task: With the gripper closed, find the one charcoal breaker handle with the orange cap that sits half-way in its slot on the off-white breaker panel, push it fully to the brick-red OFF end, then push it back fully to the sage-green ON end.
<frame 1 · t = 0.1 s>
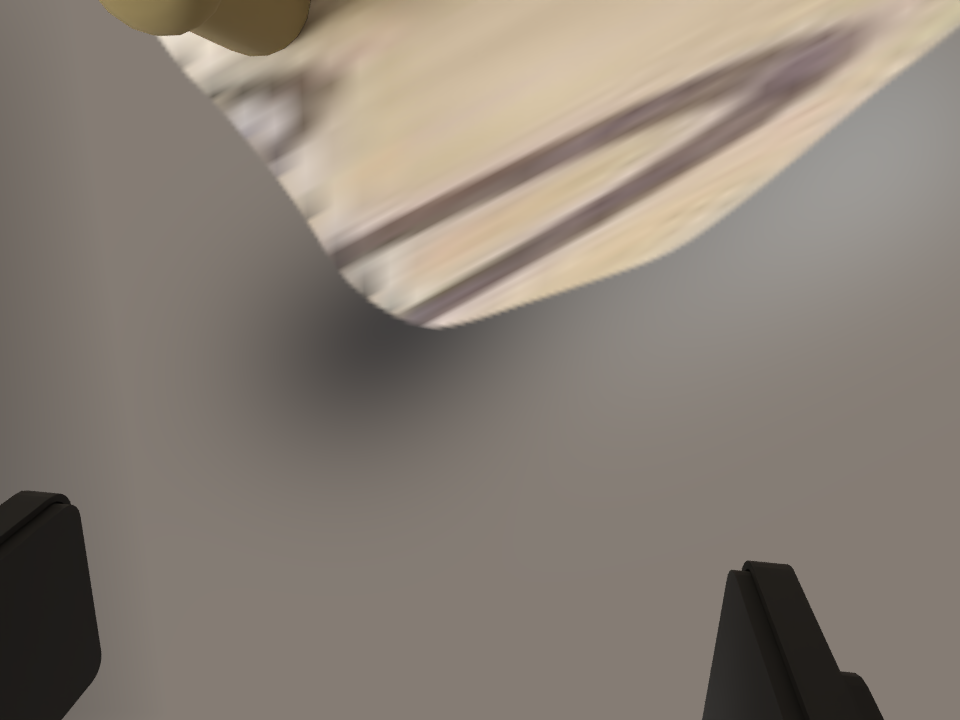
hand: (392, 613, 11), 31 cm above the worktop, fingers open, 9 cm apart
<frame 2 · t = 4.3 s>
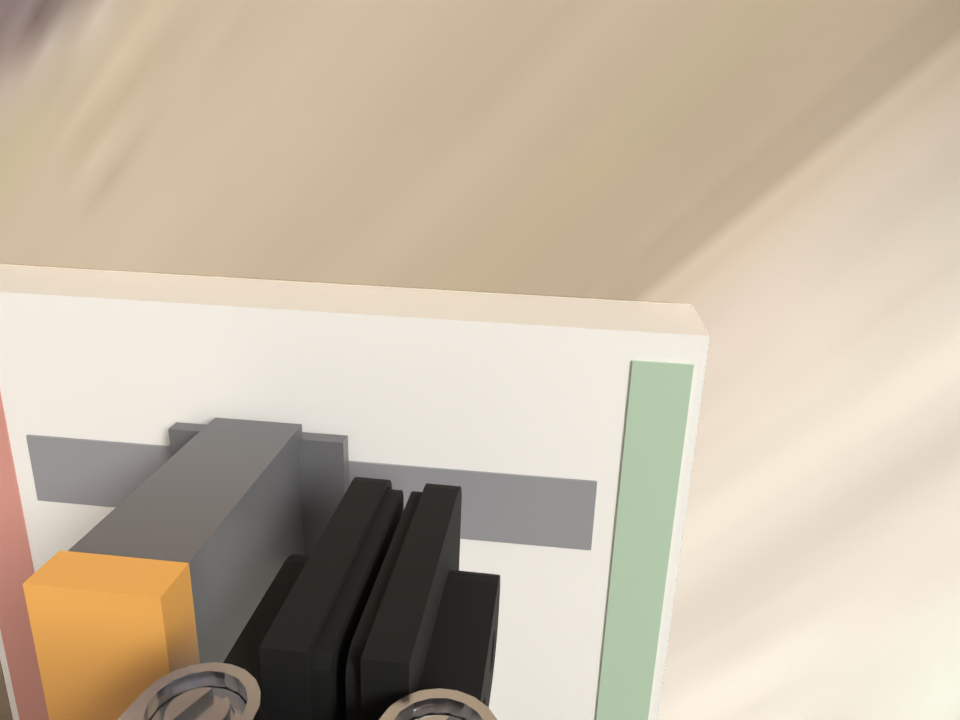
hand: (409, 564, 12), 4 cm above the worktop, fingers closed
tripped breaker: (202, 574, 12), point 5 cm above the worktop, slide at 4.7 cm, touching gripper
breaker panel: (343, 707, 19), on the worktop
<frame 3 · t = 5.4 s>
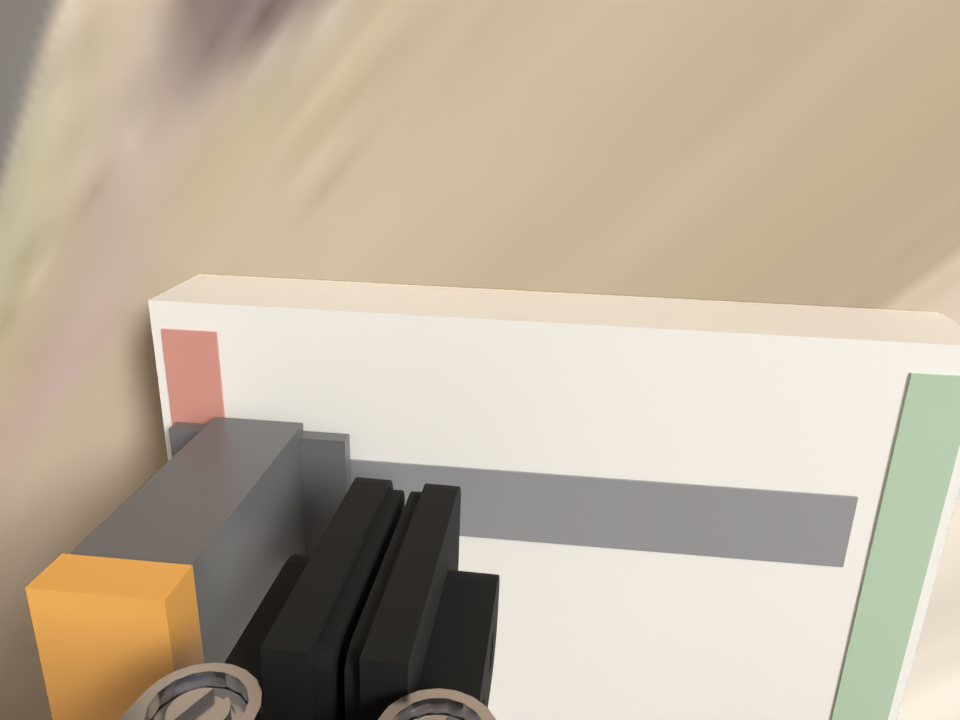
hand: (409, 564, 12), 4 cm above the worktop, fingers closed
tripped breaker: (205, 574, 12), point 5 cm above the worktop, slide at 9.0 cm, touching gripper
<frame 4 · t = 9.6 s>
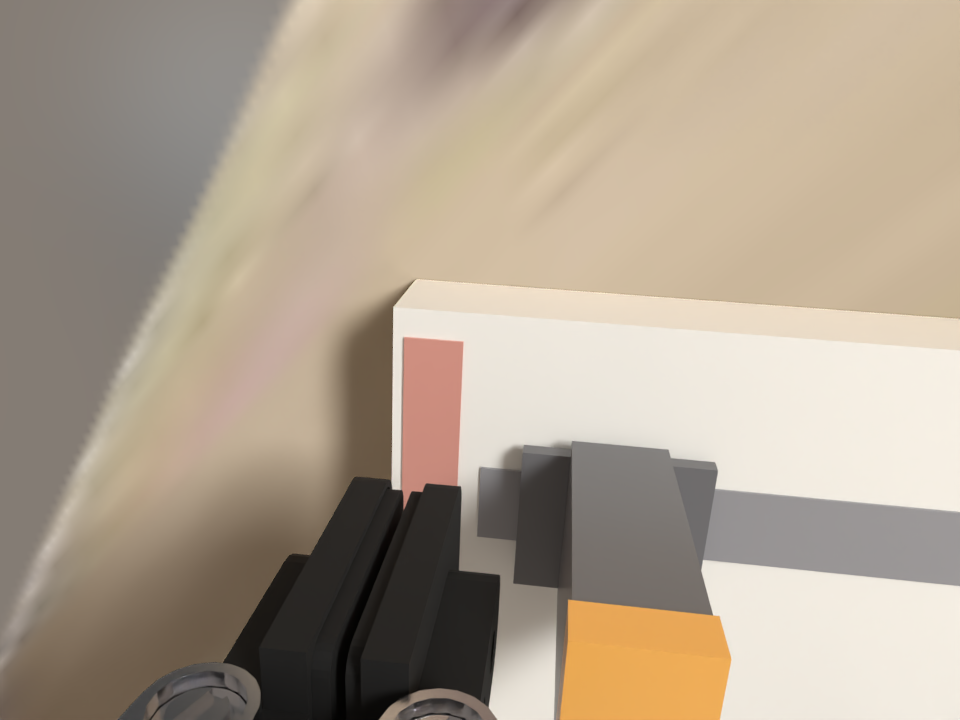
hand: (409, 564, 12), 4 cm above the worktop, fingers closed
tripped breaker: (618, 614, 11), point 5 cm above the worktop, slide at 7.1 cm, touching gripper
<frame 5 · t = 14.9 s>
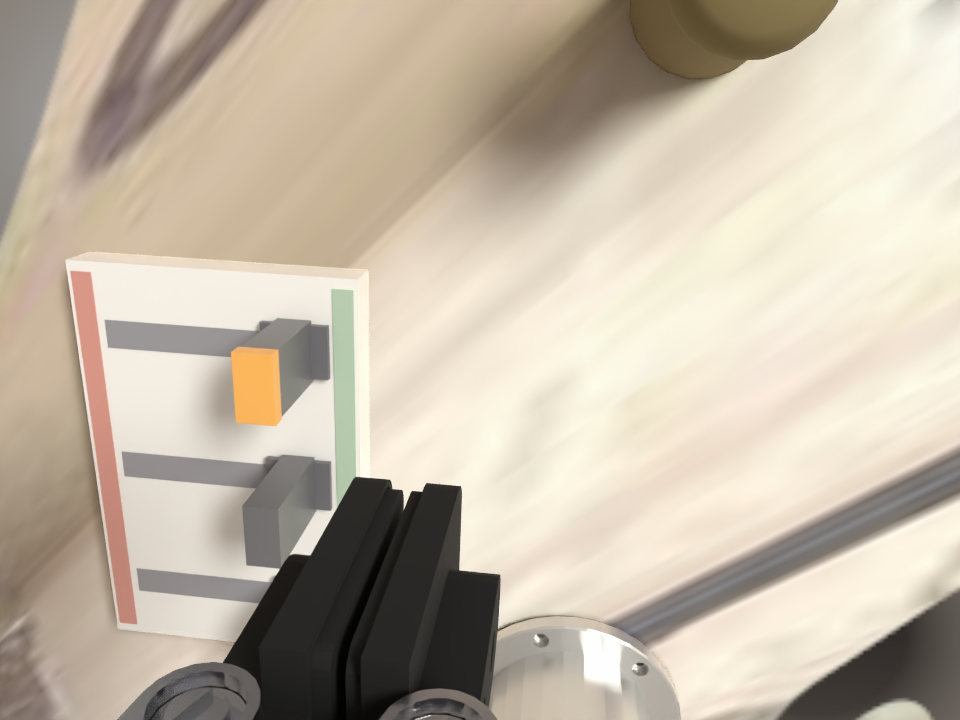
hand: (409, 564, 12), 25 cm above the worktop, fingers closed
cork: (703, 0, 32), on the worktop
tripped breaker: (276, 368, 34), point 5 cm above the worktop, slide at -0.1 cm
breaker panel: (240, 455, 41), on the worktop
breaker b: (282, 508, 36), point 5 cm above the worktop, slide at 0.0 cm
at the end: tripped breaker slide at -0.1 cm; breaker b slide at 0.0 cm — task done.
